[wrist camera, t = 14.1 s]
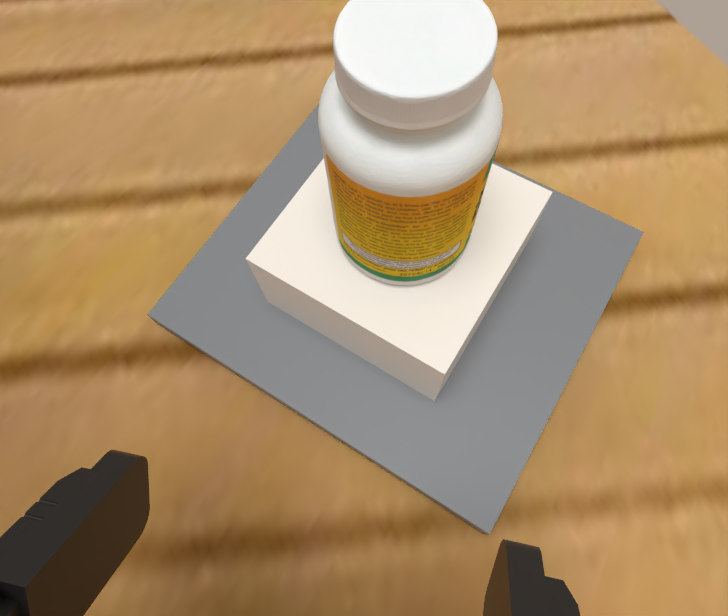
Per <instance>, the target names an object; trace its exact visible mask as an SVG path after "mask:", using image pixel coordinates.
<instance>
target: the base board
mask: <svg viewBox="0 0 728 616" xmlns="http://www.w3.org/2000/svg"><path fill="white" fill-rule="evenodd" d="M318 109H319V104H318V105H317V107H316V108H315V109H314V110H313V112H312V113H311V114H310V115H309V116H308V118H307V119H306V120H305V121H304V123H303V124H302V125H301V126H300V128H299V129H298V130H297V131H296V132H295V134H294V135H293V136H292V137H291V139H290V140H289V141H288V142H287V144H286V145H285V146H284V147H283V148H282V150H281V151H280V152H279V153H278V155H277V156H276V157H275V158H274V159H273V161H272V162H271V163H270V164H269V166H268V167H267V168H266V169H265V171H264V172H263V173H262V174H261V175H260V177H259V178H258V179H257V180H256V182H255V183H254V184H253V185H252V187H251V188H250V189H249V190H248V191H247V193H246V194H245V195H244V196H243V198H242V199H241V200H240V201H239V203H238V204H237V205H236V206H235V207H234V209H233V210H232V211H231V212H230V214H229V215H228V216H227V217H226V219H225V220H224V221H223V222H222V223H221V225H220V226H219V227H218V228H217V230H216V231H215V232H214V233H213V235H212V236H211V237H210V238H209V239H208V241H207V242H206V243H205V244H204V246H203V247H202V248H201V249H200V250H199V252H198V253H197V254H196V255H195V257H194V258H193V259H192V260H191V262H190V263H189V264H188V265H187V266H186V268H185V269H184V270H183V271H182V273H181V274H180V275H179V276H178V278H177V279H176V280H175V281H174V282H173V284H172V285H171V286H170V287H169V289H168V290H167V291H166V292H165V294H164V295H163V296H162V297H161V298H160V300H159V301H158V302H157V303H156V305H155V306H154V307H153V308H152V310H151V311H150V312H149V313H148V314H147V315H148V316H149V317H151V318H152V319H153V320H154V321H155V322H156V323H157V324H159V325H160V326H162V327H163V328H165V329H166V330H168V331H170V332H171V333H173V334H174V335H176V336H177V337H179V338H180V339H182V340H184V341H185V342H187V343H188V344H190V345H191V346H193V347H194V348H196V349H198V350H199V351H201V352H202V353H204V354H205V355H207V356H208V357H210V358H212V359H213V360H215V361H216V362H218V363H219V364H221V365H222V366H224V367H226V368H227V369H229V370H230V371H232V372H233V373H235V374H236V375H238V376H240V377H241V378H243V379H244V380H246V381H247V382H249V383H250V384H252V385H254V386H255V387H257V388H258V389H260V390H261V391H263V392H264V393H266V394H268V395H269V396H271V397H272V398H274V399H275V400H277V401H278V402H280V403H282V404H283V405H285V406H286V407H288V408H289V409H291V410H292V411H294V412H296V413H297V414H299V415H300V416H302V417H303V418H305V419H306V420H308V421H310V422H311V423H313V424H314V425H316V426H317V427H319V428H320V429H322V430H324V431H325V432H327V433H328V434H330V435H331V436H333V437H334V438H336V439H338V440H339V441H341V442H342V443H344V444H345V445H347V446H348V447H350V448H352V449H353V450H355V451H356V452H358V453H359V454H361V455H362V456H364V457H366V458H367V459H369V460H370V461H372V462H373V463H375V464H376V465H378V466H380V467H381V468H383V469H384V470H386V471H387V472H389V473H390V474H392V475H394V476H395V477H397V478H398V479H400V480H401V481H403V482H404V483H406V484H408V485H409V486H411V487H412V488H414V489H415V490H417V491H418V492H420V493H422V494H423V495H425V496H426V497H428V498H429V499H431V500H432V501H434V502H436V503H437V504H439V505H440V506H442V507H443V508H445V509H446V510H448V511H450V512H451V513H453V514H454V515H456V516H457V517H459V518H460V519H462V520H464V521H465V522H467V523H468V524H470V525H471V526H473V527H474V528H476V529H478V530H479V531H481V532H482V533H484V534H490V533H491V531H492V529H493V527H494V525H495V523H496V521H497V519H498V517H499V515H500V513H501V511H502V509H503V507H504V505H505V503H506V501H507V499H508V498H509V496H510V494H511V492H512V490H513V488H514V486H515V484H516V482H517V480H518V478H519V476H520V474H521V472H522V470H523V468H524V466H525V464H526V462H527V460H528V458H529V456H530V454H531V452H532V450H533V448H534V446H535V445H536V443H537V441H538V439H539V437H540V435H541V433H542V431H543V429H544V427H545V425H546V423H547V421H548V419H549V417H550V415H551V413H552V411H553V409H554V407H555V405H556V403H557V401H558V399H559V397H560V395H561V393H562V392H563V390H564V388H565V386H566V384H567V382H568V380H569V378H570V376H571V374H572V372H573V370H574V368H575V366H576V364H577V362H578V360H579V358H580V356H581V354H582V352H583V350H584V348H585V346H586V344H587V342H588V340H589V339H590V337H591V335H592V333H593V331H594V329H595V327H596V325H597V323H598V321H599V319H600V317H601V315H602V313H603V311H604V309H605V307H606V305H607V303H608V301H609V299H610V297H611V295H612V293H613V291H614V289H615V287H616V286H617V284H618V282H619V280H620V278H621V276H622V274H623V272H624V270H625V268H626V266H627V264H628V262H629V260H630V258H631V256H632V254H633V252H634V250H635V248H636V246H637V244H638V242H639V240H640V238H641V236H642V234H643V233H644V232H642V231H640V230H638V229H636V228H634V227H632V226H629V225H627V224H625V223H623V222H621V221H619V220H617V219H615V218H613V217H610V216H608V215H606V214H604V213H602V212H600V211H598V210H596V209H594V208H591V207H589V206H587V205H585V204H583V203H581V202H579V201H577V200H574V199H572V198H570V197H568V196H566V195H564V194H562V193H560V192H558V191H555V190H553V189H551V188H549V187H547V186H545V185H543V184H541V183H538V182H536V181H534V180H532V179H530V178H528V177H526V176H524V175H522V174H519V173H517V172H515V171H513V170H511V169H509V168H507V167H505V166H503V165H500V164H498V163H496V162H494V161H493V163H492V164H495V165H497V166H499V167H501V168H503V169H505V170H507V171H509V172H511V173H514V174H516V175H518V176H520V177H522V178H524V179H526V180H528V181H530V182H533V183H535V184H537V185H539V186H541V187H543V188H545V189H547V190H549V191H552V194H551V196H550V198H549V200H548V202H547V204H546V206H545V208H544V210H543V213H542V215H541V217H540V219H539V221H538V223H537V225H536V227H535V229H534V231H533V233H532V235H531V237H530V239H529V241H528V243H527V245H526V246H525V248H524V250H523V252H522V253H521V255H520V257H519V258H518V260H517V262H516V263H515V265H514V267H513V269H512V270H511V272H510V274H509V275H508V277H507V279H506V280H505V282H504V284H503V286H502V287H501V289H500V291H499V292H498V294H497V296H496V298H495V299H494V301H493V303H492V304H491V306H490V308H489V309H488V311H487V313H486V315H485V316H484V318H483V320H482V321H481V323H480V325H479V326H478V328H477V330H476V332H475V333H474V335H473V337H472V338H471V340H470V342H469V344H468V345H467V347H466V349H465V350H464V352H463V354H462V355H461V357H460V359H459V361H458V362H457V364H456V366H455V367H454V369H453V371H452V372H451V374H450V376H449V378H448V379H447V381H446V383H445V384H444V386H443V388H442V389H441V391H440V393H439V395H438V396H437V398H436V400H435V401H433V400H431V399H430V398H428V397H426V396H425V395H423V394H421V393H420V392H418V391H416V390H415V389H413V388H411V387H409V386H408V385H406V384H404V383H403V382H401V381H399V380H398V379H396V378H394V377H393V376H391V375H389V374H388V373H386V372H384V371H383V370H381V369H379V368H378V367H376V366H374V365H373V364H371V363H369V362H368V361H366V360H364V359H363V358H361V357H359V356H358V355H356V354H354V353H352V352H351V351H349V350H347V349H346V348H344V347H342V346H341V345H339V344H337V343H336V342H334V341H332V340H331V339H329V338H327V337H326V336H324V335H322V334H321V333H319V332H317V331H316V330H314V329H312V328H311V327H309V326H307V325H306V324H304V323H302V322H301V321H299V320H297V319H295V318H294V317H292V316H290V315H289V314H287V313H285V312H284V311H282V310H280V309H279V308H277V307H275V306H274V305H272V304H270V303H269V302H267V300H266V298H265V296H264V294H263V292H262V290H261V288H260V286H259V284H258V282H257V280H256V278H255V276H254V274H253V272H252V270H251V268H250V266H249V265H248V263H247V261H246V258H247V256H248V255H249V254H250V252H251V251H252V250H253V249H254V247H255V246H256V245H257V243H258V242H259V241H260V239H261V238H262V237H263V236H264V234H265V233H266V232H267V230H268V229H269V228H270V227H271V225H272V224H273V223H274V221H275V220H276V219H277V218H278V216H279V215H280V214H281V212H282V211H283V210H284V209H285V207H286V206H287V205H288V203H289V202H290V201H291V200H292V198H293V197H294V196H295V194H296V193H297V192H298V191H299V189H300V188H301V187H302V185H303V184H304V183H305V182H306V180H307V179H308V178H309V176H310V175H311V174H312V173H313V171H314V170H315V169H316V167H317V166H318V165H319V164H320V162H321V161H322V160H323V158H324V156H323V150H322V145H321V139H320V133H319V126H318Z"/></svg>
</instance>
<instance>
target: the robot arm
mask: <svg viewBox="0 0 728 616" xmlns="http://www.w3.org/2000/svg"><path fill="white" fill-rule="evenodd" d="M149 509H150V504H149V481H148V462H147V459H146V458H145V457H143V456H139V455H135V454H130V453H126V452H121V451H117V450H111V451H109V452H107V453H106V454H105V455H104V456H103V457H102V458H101V459H100V460H99V461H98V462H97V463H96V465H95V466H94V467H93V468H92V469H86V468H80V469H78V470H77V471H75V472H73V473H71V474H69V475H68V476H66V477H64V478H62V479H60V480H59V481H57V482H56V483H55V484H54V485H53V486H52V487H51V488H50V489H49V490H48V491H47V492H46V493H45V494H44V495H43V496H42V497H41V498H40V501H39V502H36V503H35V504H34V505H33V506H32V507H31V508H30V509H29V510H28V511H27V512H26V513H25V516H24V517H21V518H20V519H19V520H18V521H17V522H16V523H15V524H14V525H13V526H12V527H11V528H9V529H8V530H7V531H6V532H5V533H4V534H3V535H2V536H1V537H0V616H83V615H84V614H85V613H86V611H87V610H88V608H89V607H90V606H91V604H92V603H93V601H94V600H95V599H96V597H97V596H98V594H99V593H100V592H101V590H102V589H103V587H104V586H105V585H106V583H107V582H108V580H109V579H110V578H111V576H112V575H113V573H114V572H115V571H116V569H117V568H118V566H119V565H120V564H121V562H122V561H123V560H124V558H125V557H126V555H127V554H128V553H129V551H130V550H131V548H132V547H133V546H134V544H135V543H136V541H137V540H138V539H139V537H140V536H141V534H142V532H143V530H144V528H145V525H146V523H147V520H148V516H149ZM483 616H580V613H579V608H578V604H577V603H576V601H575V599H574V598H573V596H572V594H571V593H570V591H569V589H568V588H567V586H566V585H565V583H564V581H563V580H559V579H555V578H550V577H546V576H545V575H544V568H543V561H542V555H541V551H540V548H539V547H535V546H531V545H526V544H522V543H517V542H513V541H508V540H504V539H503V540H502V542H501V544H500V547H499V550H498V554H497V557H496V560H495V564H494V567H493V570H492V574H491V577H490V580H489V584H488V587H487V591H486V595H485V602H484V611H483Z"/></svg>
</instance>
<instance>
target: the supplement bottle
mask: <svg viewBox="0 0 728 616" xmlns="http://www.w3.org/2000/svg"><path fill="white" fill-rule="evenodd" d="M497 39H498V35H497V26H496V23H495V20H494V17H493V15H492V13H491V11H490V10H489V8H488V6H487V5H486V4H485V3H484V2H483V1H482V0H350V1H349V2H348V3H347V4H346V6H345V7H344V8H343V10H342V11H341V13H340V15H339V17H338V19H337V22H336V25H335V29H334V36H333V48H334V59H335V68H334V69H335V70H334V71H333V72H332V74H331V76H330V77H329V79H328V80H327V82H326V84H325V86H324V89H323V91H322V95H321V98H320V102H319V109H318V126H319V133H320V139H321V145H322V150H323V156H324V162H325V169H326V174H327V180H328V186H329V193H330V199H331V205H332V211H333V220H334V224H335V229H336V235H337V239H338V242H339V244H340V246H341V248H342V250H343V252H344V254H345V256H346V257H347V258H348V260H349V261H350V262H351V263H352V264H353V265H354V266H356V267H357V268H358V269H359V270H361V271H362V272H364V273H365V274H367V275H368V276H370V277H372V278H374V279H376V280H379V281H381V282H384V283H388V284H394V285H415V284H420V283H424V282H428V281H431V280H433V279H436V278H438V277H440V276H441V275H442V274H444V273H445V272H446V271H448V270H449V269H450V268H451V267H452V266H453V265H454V264H455V263H456V262H457V261H458V259H459V258H460V257H461V256H462V254H463V252H464V250H465V249H466V247H467V244H468V242H469V239H470V236H471V233H472V229H473V226H474V223H475V219H476V216H477V213H478V209H479V206H480V203H481V200H482V196H483V192H484V189H485V186H486V182H487V179H488V176H489V172H490V169H491V166H492V163H493V159H494V156H495V153H496V149H497V146H498V143H499V139H500V135H501V130H502V123H503V107H502V101H501V97H500V93H499V90H498V88H497V85H496V83H495V81H494V79H493V77H492V74H493V66H494V61H495V56H496V50H497Z"/></svg>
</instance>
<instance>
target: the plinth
mask: <svg viewBox="0 0 728 616" xmlns="http://www.w3.org/2000/svg"><path fill="white" fill-rule="evenodd" d="M551 194H552V191H549V190H547V189H545V188H543V187H541V186H539V185H537V184H535V183H533V182H530V181H528V180H526V179H524V178H522V177H520V176H518V175H516V174H514V173H511V172H509V171H507V170H505V169H503V168H501V167H499V166H497V165H495V164H492V166H491V169H490V172H489V176H488V179H487V182H486V186H485V189H484V192H483V196H482V200H481V203H480V206H479V209H478V213H477V216H476V219H475V223H474V226H473V229H472V233H471V236H470V239H469V242H468V244H467V247H466V249H465V250H464V252H463V254H462V256H461V257H460V258H459V259H458V261H457V262H456V263H455V264H454V265H453V266H452V267H451V268H450V269H449V270H448V271H446V272H445V273H444V274H442V275H441V276H440V277H438V278H436V279H433V280H431V281H428V282H424V283H420V284H415V285H394V284H388V283H384V282H381V281H379V280H376V279H374V278H372V277H370V276H368V275H367V274H365V273H364V272H362V271H361V270H359V269H358V268H357V267H356V266H354V265H353V264H352V263H351V262H350V261H349V260H348V258H347V257H346V256H345V254H344V252H343V250H342V248H341V246H340V244H339V242H338V239H337V235H336V229H335V224H334V220H333V211H332V205H331V199H330V193H329V186H328V180H327V174H326V169H325V162H324V158H323V160H322V161H321V162H320V164H319V165H318V166H317V167H316V169H315V170H314V171H313V173H312V174H311V175H310V176H309V178H308V179H307V180H306V182H305V183H304V184H303V185H302V187H301V188H300V189H299V191H298V192H297V193H296V194H295V196H294V197H293V198H292V200H291V201H290V202H289V203H288V205H287V206H286V207H285V209H284V210H283V211H282V212H281V214H280V215H279V216H278V218H277V219H276V220H275V221H274V223H273V224H272V225H271V227H270V228H269V229H268V230H267V232H266V233H265V234H264V236H263V237H262V238H261V239H260V241H259V242H258V243H257V245H256V246H255V247H254V249H253V250H252V251H251V252H250V254H249V255H248V256H247V258H246V261H247V263H248V265H249V266H250V268H251V270H252V272H253V274H254V276H255V278H256V280H257V282H258V284H259V286H260V288H261V290H262V292H263V294H264V296H265V298H266V300H267V302H269V303H270V304H272V305H274V306H275V307H277V308H279V309H280V310H282V311H284V312H285V313H287V314H289V315H290V316H292V317H294V318H295V319H297V320H299V321H301V322H302V323H304V324H306V325H307V326H309V327H311V328H312V329H314V330H316V331H317V332H319V333H321V334H322V335H324V336H326V337H327V338H329V339H331V340H332V341H334V342H336V343H337V344H339V345H341V346H342V347H344V348H346V349H347V350H349V351H351V352H352V353H354V354H356V355H358V356H359V357H361V358H363V359H364V360H366V361H368V362H369V363H371V364H373V365H374V366H376V367H378V368H379V369H381V370H383V371H384V372H386V373H388V374H389V375H391V376H393V377H394V378H396V379H398V380H399V381H401V382H403V383H404V384H406V385H408V386H409V387H411V388H413V389H415V390H416V391H418V392H420V393H421V394H423V395H425V396H426V397H428V398H430V399H431V400H433V401H435V400H436V398H437V396H438V395H439V393H440V391H441V389H442V388H443V386H444V384H445V383H446V381H447V379H448V378H449V376H450V374H451V372H452V371H453V369H454V367H455V366H456V364H457V362H458V361H459V359H460V357H461V355H462V354H463V352H464V350H465V349H466V347H467V345H468V344H469V342H470V340H471V338H472V337H473V335H474V333H475V332H476V330H477V328H478V326H479V325H480V323H481V321H482V320H483V318H484V316H485V315H486V313H487V311H488V309H489V308H490V306H491V304H492V303H493V301H494V299H495V298H496V296H497V294H498V292H499V291H500V289H501V287H502V286H503V284H504V282H505V280H506V279H507V277H508V275H509V274H510V272H511V270H512V269H513V267H514V265H515V263H516V262H517V260H518V258H519V257H520V255H521V253H522V252H523V250H524V248H525V246H526V245H527V243H528V241H529V239H530V237H531V235H532V233H533V231H534V229H535V227H536V225H537V223H538V221H539V219H540V217H541V215H542V213H543V210H544V208H545V206H546V204H547V202H548V200H549V198H550V196H551Z"/></svg>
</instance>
